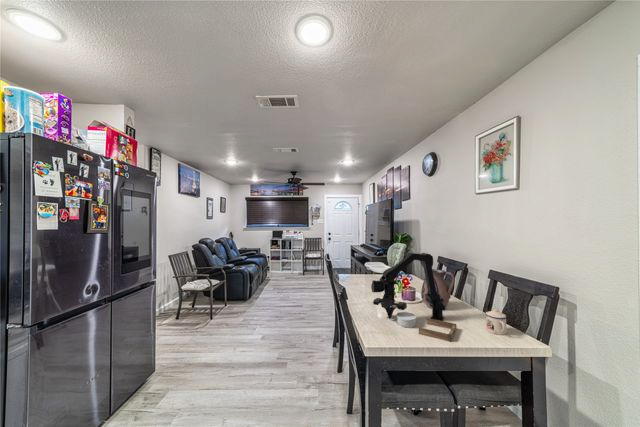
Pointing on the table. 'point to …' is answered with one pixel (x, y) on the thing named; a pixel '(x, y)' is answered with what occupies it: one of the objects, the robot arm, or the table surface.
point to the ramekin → (406, 319)
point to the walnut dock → (439, 334)
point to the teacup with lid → (496, 322)
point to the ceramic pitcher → (439, 287)
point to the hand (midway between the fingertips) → (389, 318)
